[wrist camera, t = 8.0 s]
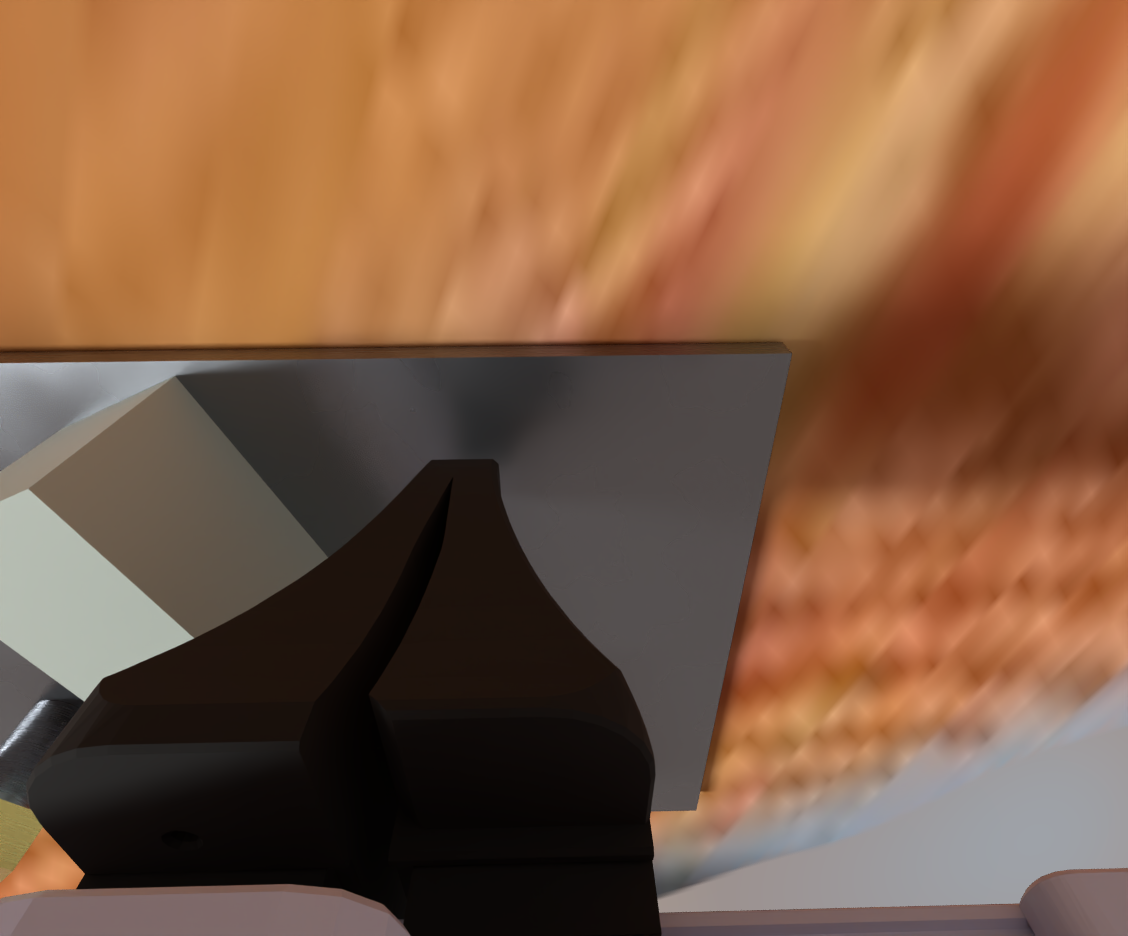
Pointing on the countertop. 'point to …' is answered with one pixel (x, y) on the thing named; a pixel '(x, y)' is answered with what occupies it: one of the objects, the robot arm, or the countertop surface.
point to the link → (136, 538)
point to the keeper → (25, 776)
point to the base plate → (527, 478)
